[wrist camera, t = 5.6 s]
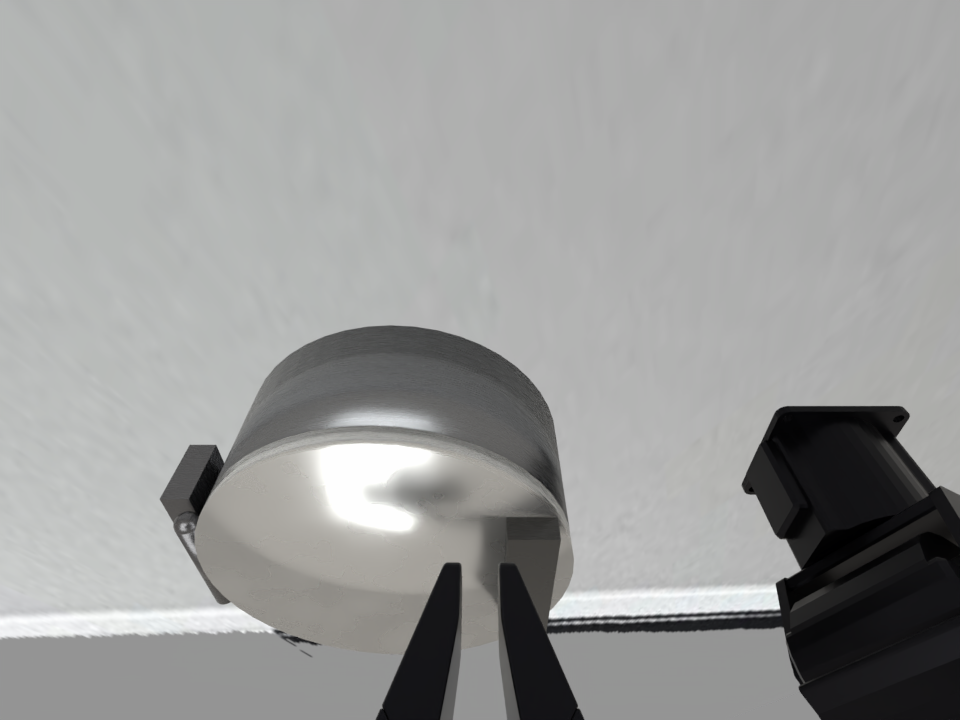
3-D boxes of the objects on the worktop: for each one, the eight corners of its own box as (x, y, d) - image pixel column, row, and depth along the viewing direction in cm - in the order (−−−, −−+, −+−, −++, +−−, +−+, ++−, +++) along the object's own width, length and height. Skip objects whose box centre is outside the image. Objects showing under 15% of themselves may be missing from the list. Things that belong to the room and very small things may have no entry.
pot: (570, 325, 24) (591, 421, 20) (544, 534, 34) (554, 630, 30) (184, 325, 24) (113, 421, 20) (270, 534, 34) (237, 631, 30)
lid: (592, 425, 19) (602, 469, 18) (554, 635, 29) (558, 675, 28) (130, 425, 20) (99, 469, 18) (248, 635, 30) (235, 674, 28)
